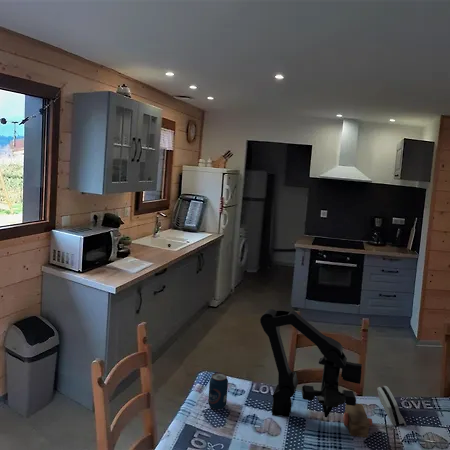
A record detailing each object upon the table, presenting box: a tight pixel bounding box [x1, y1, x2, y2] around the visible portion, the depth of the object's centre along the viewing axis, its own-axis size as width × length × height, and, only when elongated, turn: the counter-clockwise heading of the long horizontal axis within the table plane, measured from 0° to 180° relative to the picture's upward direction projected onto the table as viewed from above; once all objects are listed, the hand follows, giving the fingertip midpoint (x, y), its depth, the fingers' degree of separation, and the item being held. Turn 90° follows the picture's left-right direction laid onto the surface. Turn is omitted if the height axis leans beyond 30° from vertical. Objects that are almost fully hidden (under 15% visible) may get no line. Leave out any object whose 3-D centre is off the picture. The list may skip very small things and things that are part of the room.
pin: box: [342, 412, 373, 427], centre depth 160 cm, size 10×4×4 cm, turn 85°
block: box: [344, 403, 370, 439], centre depth 160 cm, size 6×12×6 cm, turn 175°
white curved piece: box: [376, 385, 407, 427], centre depth 171 cm, size 17×5×10 cm, turn 177°
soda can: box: [207, 372, 229, 410], centre depth 167 cm, size 7×7×12 cm
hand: (325, 416), depth 161 cm, fingers closed
